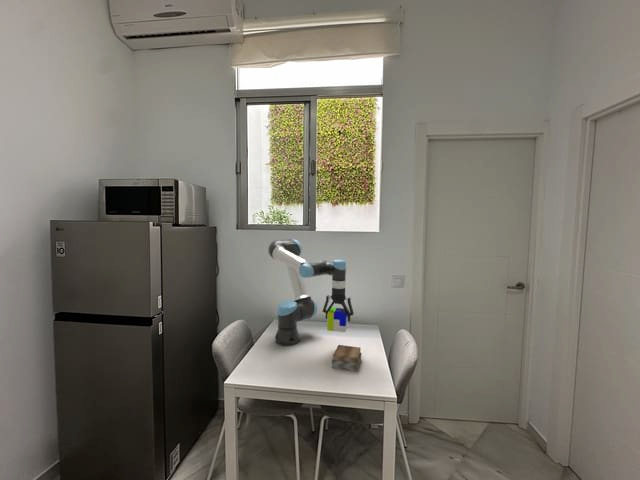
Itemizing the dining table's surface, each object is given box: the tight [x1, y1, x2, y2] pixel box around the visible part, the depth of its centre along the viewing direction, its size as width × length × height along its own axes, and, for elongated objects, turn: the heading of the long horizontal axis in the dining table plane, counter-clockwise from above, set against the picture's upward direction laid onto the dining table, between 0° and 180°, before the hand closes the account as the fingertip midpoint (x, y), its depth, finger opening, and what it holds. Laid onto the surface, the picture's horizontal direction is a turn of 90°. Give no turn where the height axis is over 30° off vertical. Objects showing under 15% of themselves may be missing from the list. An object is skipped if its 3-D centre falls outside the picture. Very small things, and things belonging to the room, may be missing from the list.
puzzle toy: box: [326, 307, 347, 333], centre depth 174 cm, size 10×10×10 cm
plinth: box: [331, 344, 362, 373], centre depth 160 cm, size 13×13×7 cm
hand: (337, 325), depth 175 cm, fingers closed on puzzle toy, 10 cm apart
